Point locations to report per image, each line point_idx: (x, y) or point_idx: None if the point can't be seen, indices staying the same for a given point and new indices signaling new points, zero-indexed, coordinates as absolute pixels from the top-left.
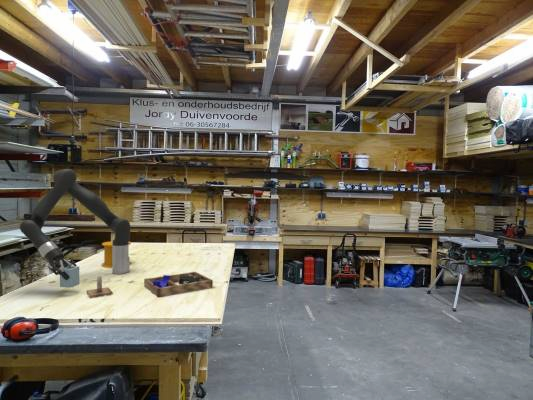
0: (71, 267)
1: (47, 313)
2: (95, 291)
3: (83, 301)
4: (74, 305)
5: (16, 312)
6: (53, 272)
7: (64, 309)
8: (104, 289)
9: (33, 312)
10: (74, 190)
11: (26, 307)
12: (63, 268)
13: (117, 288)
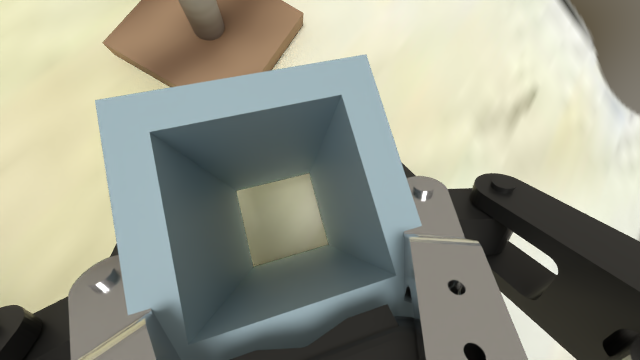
0: (184, 259)
1: (535, 34)
2: (223, 45)
3: (355, 17)
4: (416, 11)
5: (610, 166)
6: (539, 276)
7: (470, 10)
8: (161, 26)
9: (565, 97)
10: None
11: (558, 193)
12: (371, 280)
13: (67, 18)
